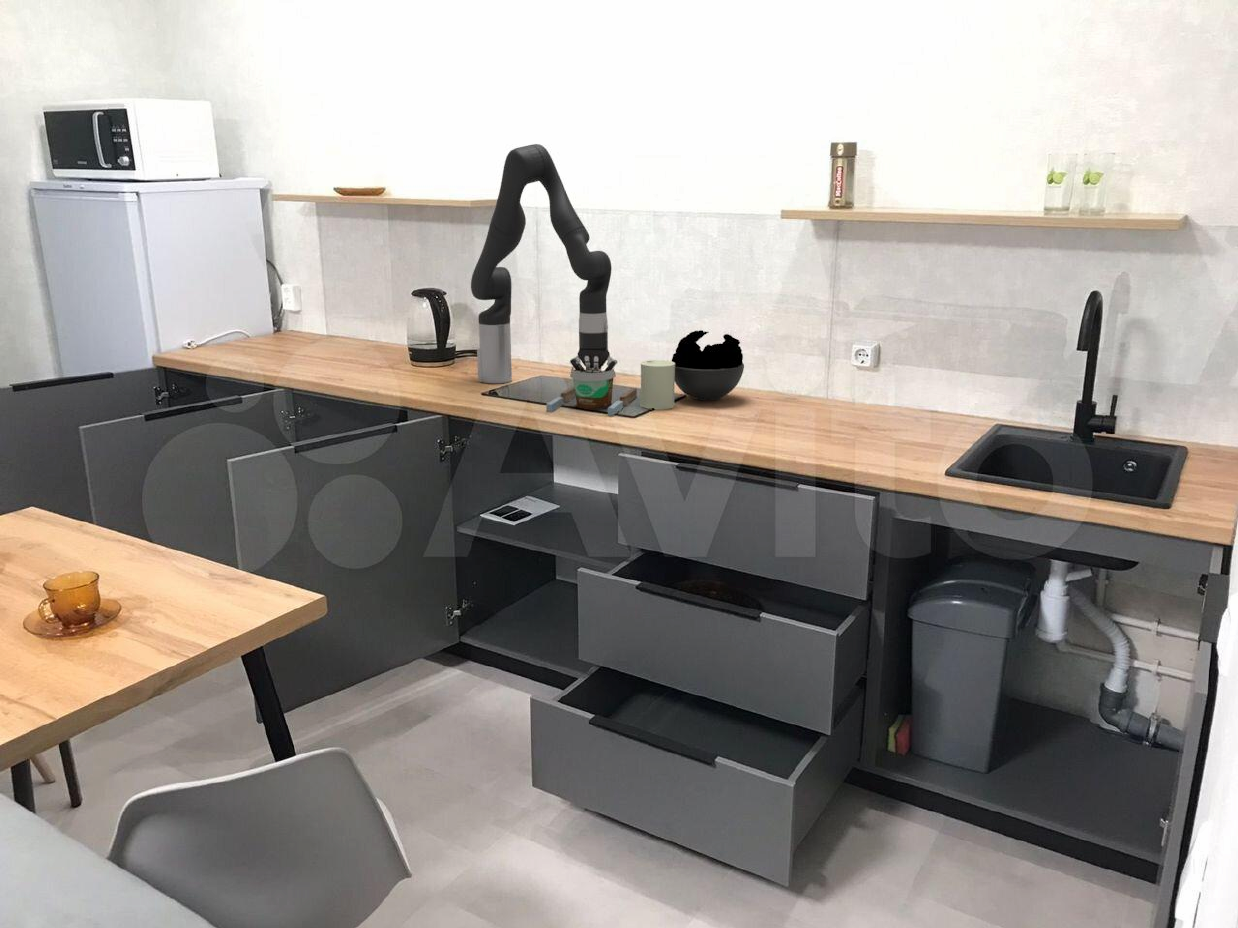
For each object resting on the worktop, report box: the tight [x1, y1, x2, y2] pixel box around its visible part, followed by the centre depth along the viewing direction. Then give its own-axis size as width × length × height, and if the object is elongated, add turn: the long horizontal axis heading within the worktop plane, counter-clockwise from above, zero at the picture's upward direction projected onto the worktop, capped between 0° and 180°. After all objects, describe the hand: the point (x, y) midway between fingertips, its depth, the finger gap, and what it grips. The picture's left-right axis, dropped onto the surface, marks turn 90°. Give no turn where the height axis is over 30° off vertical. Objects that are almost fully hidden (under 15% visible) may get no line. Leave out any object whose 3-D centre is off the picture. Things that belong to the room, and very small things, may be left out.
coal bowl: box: [671, 330, 745, 401], centre depth 267 cm, size 20×20×19 cm
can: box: [639, 359, 676, 411], centre depth 260 cm, size 9×9×12 cm
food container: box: [569, 366, 617, 410], centre depth 258 cm, size 12×6×10 cm, turn 75°
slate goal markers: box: [545, 396, 624, 417], centre depth 257 cm, size 18×9×2 cm, turn 75°
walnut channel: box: [560, 384, 638, 407], centre depth 269 cm, size 18×12×2 cm, turn 75°
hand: (594, 394), depth 263 cm, fingers closed
